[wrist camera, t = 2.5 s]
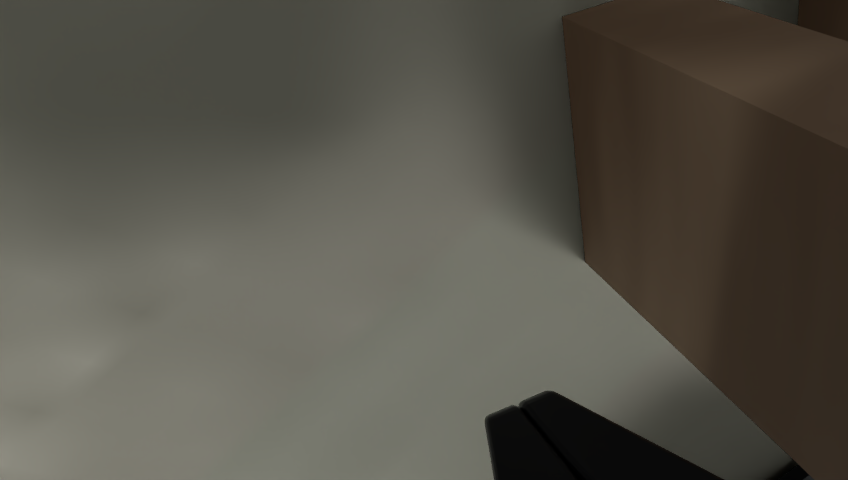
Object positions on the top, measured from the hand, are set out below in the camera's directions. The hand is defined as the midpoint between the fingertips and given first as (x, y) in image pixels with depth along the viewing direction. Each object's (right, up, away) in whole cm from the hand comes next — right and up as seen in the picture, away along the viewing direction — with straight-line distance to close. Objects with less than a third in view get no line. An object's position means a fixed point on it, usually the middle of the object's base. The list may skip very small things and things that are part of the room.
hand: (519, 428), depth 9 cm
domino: (+3, +4, +5) cm, 7 cm away
